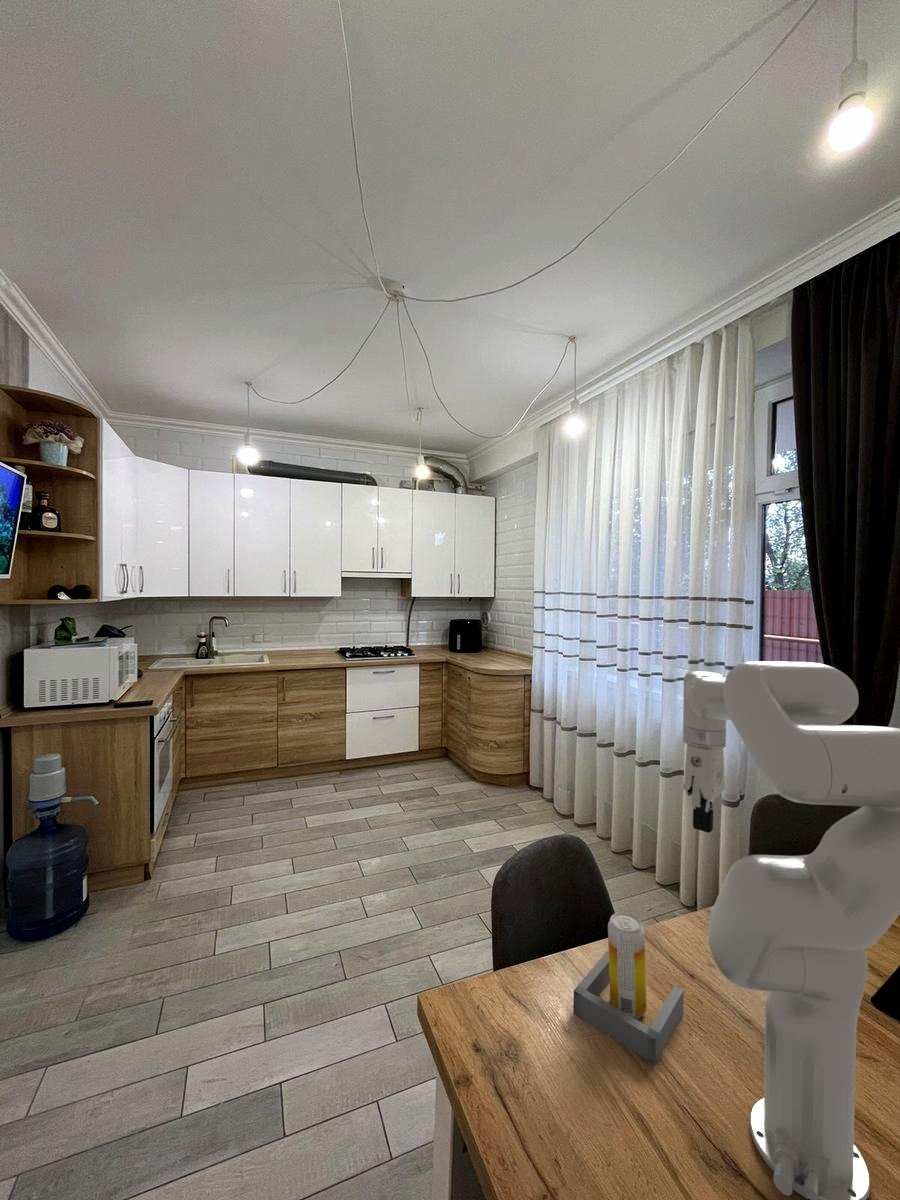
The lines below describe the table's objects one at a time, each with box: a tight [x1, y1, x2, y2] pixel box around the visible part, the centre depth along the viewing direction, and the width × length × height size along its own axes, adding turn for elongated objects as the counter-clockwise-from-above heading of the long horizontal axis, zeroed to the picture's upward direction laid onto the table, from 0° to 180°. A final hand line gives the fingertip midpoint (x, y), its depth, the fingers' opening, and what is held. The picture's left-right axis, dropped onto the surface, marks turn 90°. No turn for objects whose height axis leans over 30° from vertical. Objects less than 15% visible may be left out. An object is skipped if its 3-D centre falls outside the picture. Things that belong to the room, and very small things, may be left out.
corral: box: [572, 950, 684, 1066], centre depth 86 cm, size 13×14×4 cm
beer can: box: [607, 912, 648, 1020], centre depth 88 cm, size 6×6×15 cm
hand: (702, 829), depth 97 cm, fingers closed
